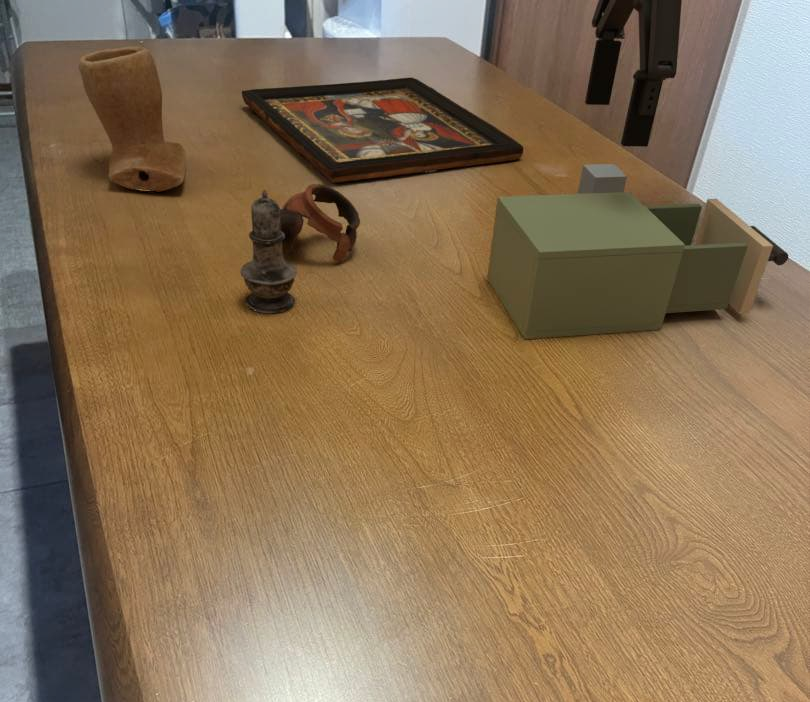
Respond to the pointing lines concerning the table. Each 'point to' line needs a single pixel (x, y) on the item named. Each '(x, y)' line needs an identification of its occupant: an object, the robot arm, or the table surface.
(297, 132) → the framed icon painting
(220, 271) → the table surface
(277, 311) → the salt shaker
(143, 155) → the clay pipe bowl
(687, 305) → the drawer
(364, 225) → the table surface
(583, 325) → the cabinet
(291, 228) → the broken clay pot
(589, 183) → the block
